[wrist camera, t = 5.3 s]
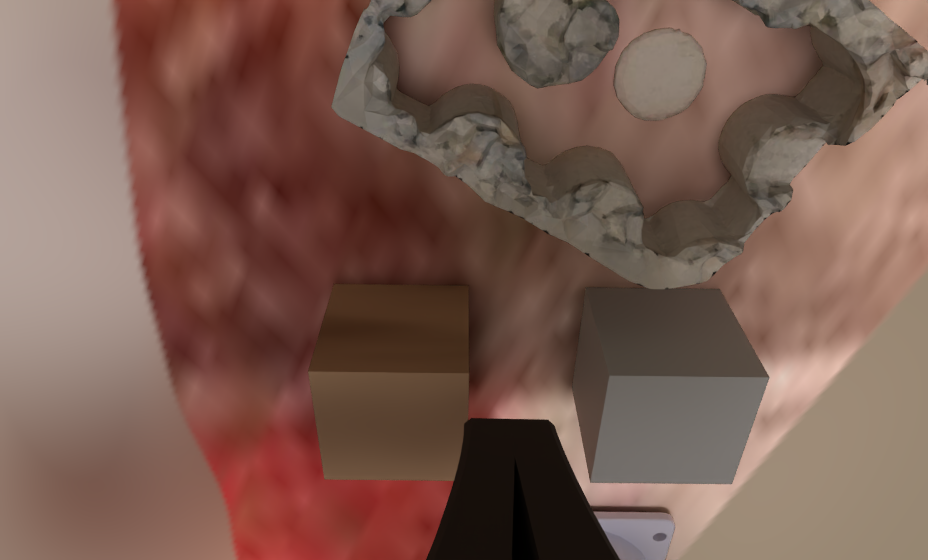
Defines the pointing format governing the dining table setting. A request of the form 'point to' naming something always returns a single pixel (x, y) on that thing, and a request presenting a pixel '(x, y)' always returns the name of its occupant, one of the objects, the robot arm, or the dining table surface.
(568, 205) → the grey piece
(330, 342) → the walnut block
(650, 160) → the dining table surface
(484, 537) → the robot arm
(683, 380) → the slate-grey block
